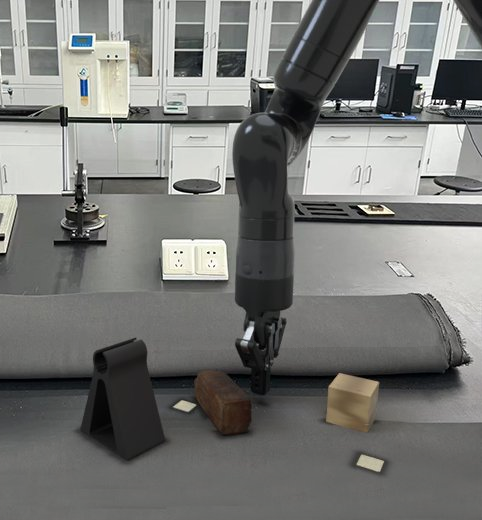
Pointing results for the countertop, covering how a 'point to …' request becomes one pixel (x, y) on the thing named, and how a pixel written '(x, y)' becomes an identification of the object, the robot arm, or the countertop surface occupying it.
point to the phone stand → (122, 401)
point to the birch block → (352, 402)
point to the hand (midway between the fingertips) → (260, 392)
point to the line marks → (363, 462)
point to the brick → (223, 402)
